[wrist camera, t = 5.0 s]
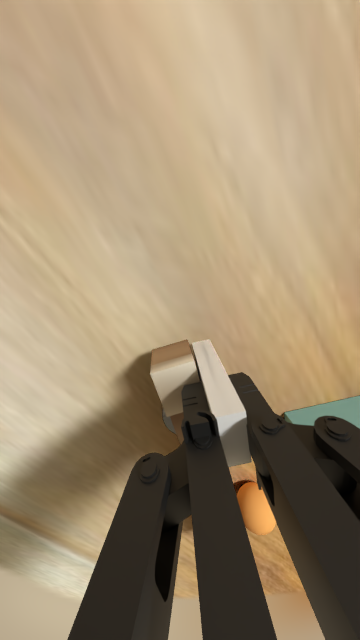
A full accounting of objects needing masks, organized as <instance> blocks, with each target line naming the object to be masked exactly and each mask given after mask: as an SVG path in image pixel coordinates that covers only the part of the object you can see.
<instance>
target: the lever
mask: <svg viewBox="0 0 360 640" xmlns="http://www.w3.org/2000/svg"><path fill="white" fill-rule="evenodd" d="M150 374H151V377H152V380H153V382H154V385H155V388H156V390H157V393H158V395H159V398H160V401H161V403H162V406H163V409H164V411H165V414H166V416H167V417H169V416H170V418H171V421H172V424H173V426H174V429H175V432H176V434H177V437H178V440H179V442H180V445H181V444H182V442H183V441H184V437H183V433H182V430H181V423H182V420H183V419H184V414H183V405H182V396H181V391H182V389H183V387H184V385H188V384H192V383H197V382H200V379H199V375H198V372H197V368H196V365H195V362H194V358H193V355H192V352H191V349H190V346H189V343H188V340H184V341H180V342H177V343H174V344H170V345H167V346H163V347H160V348H157V349H153V350H152V358H151V371H150Z"/></svg>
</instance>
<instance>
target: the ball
mask: <svg viewBox="0 0 360 640" xmlns="http://www.w3.org/2000/svg"><path fill="white" fill-rule="evenodd" d="M261 489H262V487H261ZM237 499H238V503H239V506H240V510H241V514H242V517H243V521H244V524H245V527H246V528H247V529H248V530H250V531H251V532H253V533H255V534H258V535H265V534H268V533H270V532H271V531H272V530H273V529H274V527H275V525H276V520H275V518H274V515H273V513H272V511H271V508H270V506H269V504H268V501H267V499H266V496H265V494H264V492H263V489H262V490H259V489H258V484H257V483H255V482H248V483H245V484H244V485H242V486H241V487H240V489H239V491H238V493H237Z"/></svg>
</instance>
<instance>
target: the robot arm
mask: <svg viewBox="0 0 360 640" xmlns="http://www.w3.org/2000/svg"><path fill="white" fill-rule="evenodd" d="M192 346H193V351H194V356H195V361H196V367H197V372H198V375H199V379H200V382H197V383H192V384H188V385H184V387H183V389H182V391H181V396H182V405H183V414H184V419H183V420H182V423H181V430H182V433H183V437H184V441H183V442H182V444H181V445H180V446H179V447H178V448H177V449H176V450H175V451H173V452H172V453H170V454H168V455H166V456H163V455H162V454H159V453H150V454H147V455H145V456H143V457H141V458H140V459H139V460H138V461H137V462H136V464H135V465H134V467H133V469H132V471H131V474H130V476H129V479H128V482H127V484H126V487H125V490H124V492H123V495H122V497H121V500H120V503H119V505H118V508H117V511H116V513H115V516H114V518H113V521H112V524H111V526H110V529H109V532H108V534H107V537H106V540H105V542H104V545H103V547H102V550H101V553H100V555H99V558H98V561H97V563H96V566H95V568H94V571H93V574H92V576H91V579H90V582H89V584H88V587H87V590H86V592H85V595H84V597H83V600H82V603H81V606H80V608H79V611H78V613H77V616H76V619H75V621H74V624H73V627H72V629H71V632H70V634H69V637H68V640H168V634H169V626H170V618H171V609H172V603H173V595H174V587H175V579H176V572H177V564H178V556H179V548H180V540H181V532H182V525H183V520H184V519H186V518H187V517H189V516H190V515H191V514H192V525H193V536H194V547H195V558H196V569H197V580H198V591H199V602H200V612H201V624H202V635H203V640H277V638H276V634H275V631H274V627H273V624H272V620H271V616H270V613H269V610H268V606H267V602H266V599H265V595H264V592H263V588H262V585H261V581H260V577H259V574H258V570H257V567H256V563H255V560H254V556H253V553H252V549H251V545H250V542H249V538H248V535H247V531H246V528H245V524H244V521H243V517H242V514H241V510H240V506H239V503H238V499H237V496H236V492H235V489H234V485H233V482H232V478H231V475H230V471H229V467H231V466H236V465H241V464H245V463H250V462H252V461H251V456H252V458H253V461H254V463H255V466H256V475H257V484H258V489H259V490H262V489H263V492H264V494H265V496H266V499H267V501H268V504H269V506H270V508H271V511H272V513H273V515H274V518H275V520H276V523H277V525H278V527H279V530H280V532H281V535H282V537H283V539H284V542H285V544H286V547H287V549H288V551H289V554H290V556H291V558H292V561H293V563H294V566H295V568H296V570H297V573H298V575H299V578H300V580H301V582H302V585H303V587H304V589H305V592H306V594H307V597H308V599H309V601H310V604H311V606H312V609H313V611H314V613H315V616H316V618H317V620H318V623H319V625H320V627H321V630H322V632H323V635H324V637H325V640H360V429H359V428H358V427H356V426H355V425H353V424H352V423H350V422H348V421H346V420H344V419H343V418H339V417H336V416H321V417H318V418H317V419H316V420H315V422H314V426H312V425H299V424H292V423H289V422H286V421H285V420H284V419H283V418H282V417H281V416H279V415H277V414H275V413H274V412H273V411H272V409H271V408H270V406H269V405H268V403H267V402H266V400H265V399H264V397H263V396H262V394H261V393H260V392H259V391H258V389H257V387H256V386H255V385H254V383H253V381H252V380H251V378H250V377H249V376H247V375H246V374H244V373H243V372H241V373H237V374H232V375H227V373H226V371H225V369H224V367H223V365H222V363H221V361H220V359H219V357H218V355H217V353H216V351H215V349H214V347H213V345H212V343H211V341H210V339H208V340H203V341H199V342H194V343H192ZM261 487H262V489H261Z"/></svg>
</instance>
